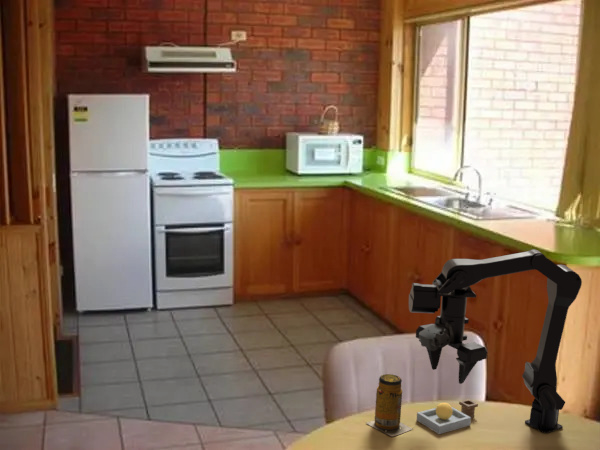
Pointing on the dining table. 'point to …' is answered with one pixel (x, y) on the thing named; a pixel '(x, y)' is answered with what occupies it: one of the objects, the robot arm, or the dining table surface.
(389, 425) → the condiment
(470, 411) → the egg cup
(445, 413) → the ball
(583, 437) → the dining table surface
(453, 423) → the tray
